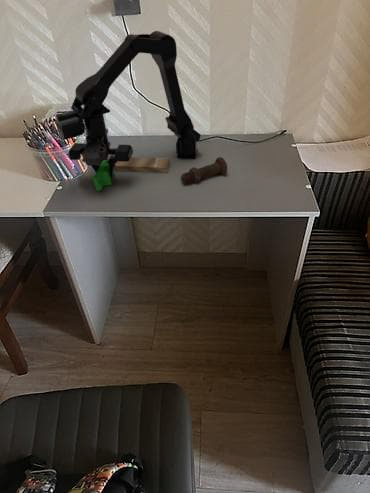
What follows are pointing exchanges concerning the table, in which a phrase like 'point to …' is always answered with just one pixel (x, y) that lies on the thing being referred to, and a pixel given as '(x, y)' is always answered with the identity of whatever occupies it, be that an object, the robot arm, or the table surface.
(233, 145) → the table surface
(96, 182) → the pipe clamp
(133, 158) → the brown wooden plank
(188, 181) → the bolt
